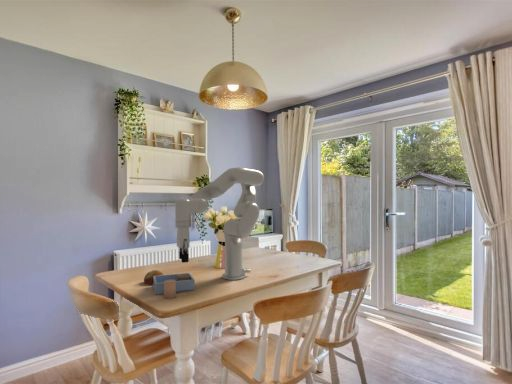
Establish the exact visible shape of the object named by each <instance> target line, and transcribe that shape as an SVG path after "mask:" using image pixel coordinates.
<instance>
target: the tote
mask: <svg viewBox="0 0 512 384" xmlns="http://www.w3.org/2000/svg"><path fill="white" fill-rule="evenodd" d="M181 274H188V276H189V280H182V281H177V275H181ZM166 280H176V293H184V292H191V291H195V285H196V284H195V278H194V277H193V276H192V274H191V273H190V272H184V273H183V272H182V273H172V274H163V275H159V276H153V285H152V287H153V291H154V294H155V296H158V295H164V281H166Z"/></svg>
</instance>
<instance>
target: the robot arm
mask: <svg viewBox="0 0 512 384" xmlns="http://www.w3.org/2000/svg"><path fill="white" fill-rule="evenodd" d="M264 180H265V176H264V173H262V171H260V170H258V169H257V170H256V169H252V168H251V169H250V168H245V167H238V166H237V167H231V168H228V169H226V170H225V171H224V172H223V173H222V174H220V175H219V176H217V178H216V179H214V180H213V181H212V182H210V183H208V184H207V185H204V186H203V187H202V188H200V189H198V190H197V191H195V192H194V193H193V194H191V196H189V197H188V198H177V199H176V200H175V202H174V205H175V207H174V208H175V209H174V211H175V212H174V213H175V218H174V219H175V220H174V221H175V223H174V224H175V226H174V227H175V229H176V247H177V248H178V249H179V251H178V256H179V257H178V258H179V260H181V263H184V264H185V263H188V262H189V259H190V258H189V255H190V253H189V248H190V242H191V241H190V228H192V214H203V213H205V212H206V211H207V210H208V207H209V204H208V202H207V201H210V200H211V199H212V200H213V199H215V198H219V197H221V196H223V195H224V194H225V193H226V192H227V191H229V189H231V188H232V187H233V186H234V185H237V184H240V185H241V193H240V197H239V199H238V201H237V203H236V205H235V207H234V209H233V214H234V217H236V218H237V219H235V218H230V219H227V220H226V221H225V223H224V224H223V230H222V231H223V236H224V273H222V275H221V278H222V279H223V280H227V281H229V280H230V281H237V280H242V279H245V277H246V275H245V274H246V273H247V274H249V273H251V268H248V269H247V268H243V240H242V239H247V238H249V237H250V236H251V233H252V231H253V230H254V227H255V225H256V223H257V221H258V219H259V216H260V208H259V206H258V204H257V203H256V202H255V201H256V198H257V190H256V187H259V186H261V185H262V184H263V183H264Z"/></svg>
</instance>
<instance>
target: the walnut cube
mask: <svg viewBox="0 0 512 384" xmlns="http://www.w3.org/2000/svg"><path fill="white" fill-rule="evenodd" d="M180 274H181V273H180ZM182 280H189V276H188V274H181V275H177V281H182Z"/></svg>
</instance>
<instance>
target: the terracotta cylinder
mask: <svg viewBox="0 0 512 384" xmlns="http://www.w3.org/2000/svg"><path fill="white" fill-rule="evenodd" d="M176 295H177V292H176V280H166V281H164V294H163V298H164V299H165V300H172V299H175V298H176Z"/></svg>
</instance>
